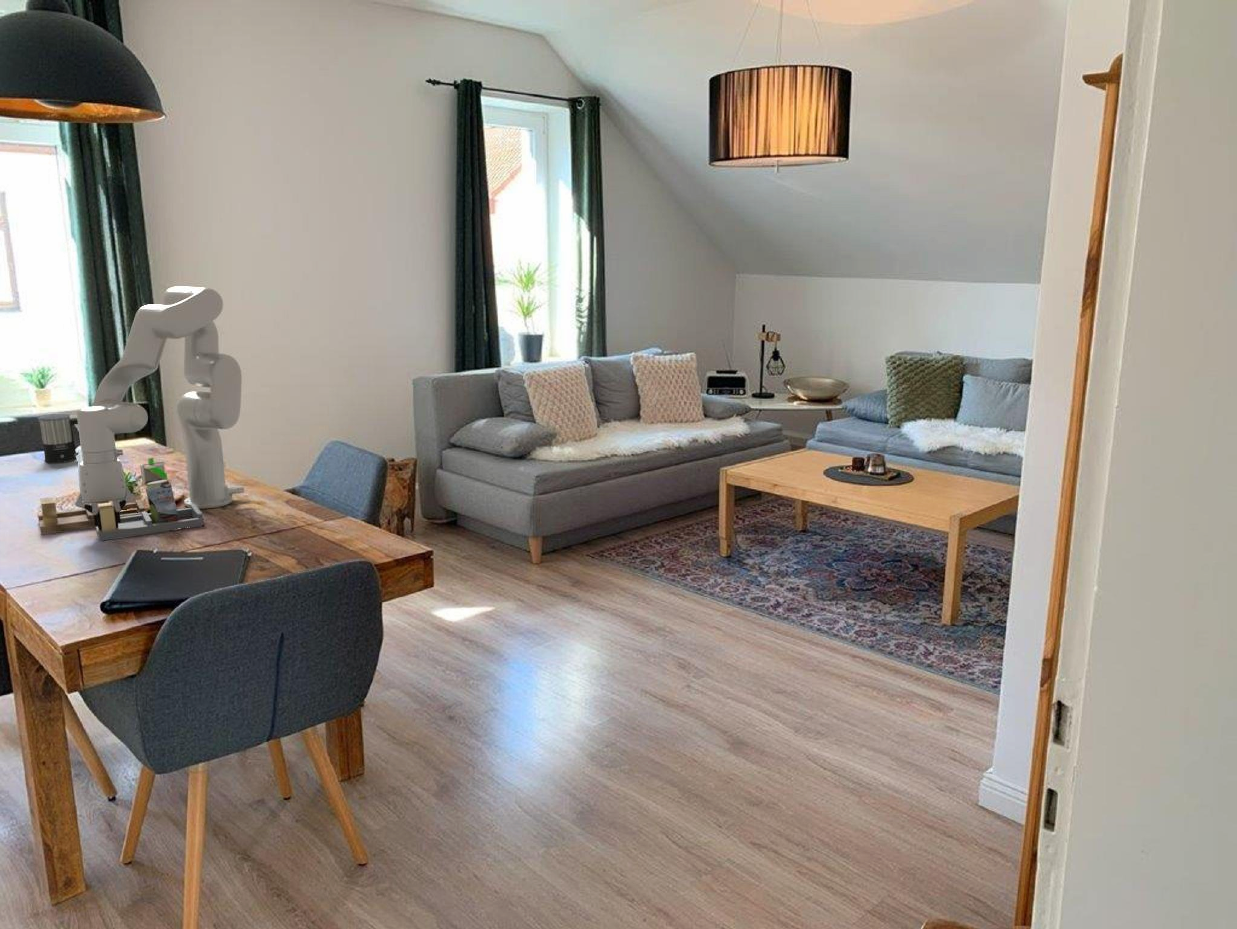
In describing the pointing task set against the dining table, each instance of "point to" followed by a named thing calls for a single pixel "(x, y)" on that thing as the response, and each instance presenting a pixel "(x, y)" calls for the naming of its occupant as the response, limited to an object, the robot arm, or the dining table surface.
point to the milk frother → (58, 437)
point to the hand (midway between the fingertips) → (108, 526)
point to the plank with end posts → (72, 517)
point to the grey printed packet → (161, 501)
